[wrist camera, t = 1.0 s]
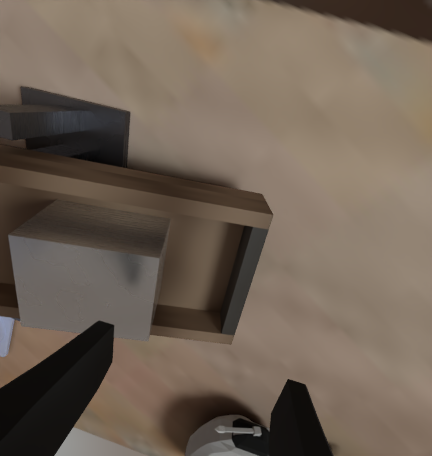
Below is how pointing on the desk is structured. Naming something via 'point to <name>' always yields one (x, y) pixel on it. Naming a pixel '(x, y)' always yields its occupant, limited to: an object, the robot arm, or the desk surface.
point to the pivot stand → (67, 127)
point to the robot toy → (229, 438)
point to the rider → (89, 268)
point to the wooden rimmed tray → (177, 238)
